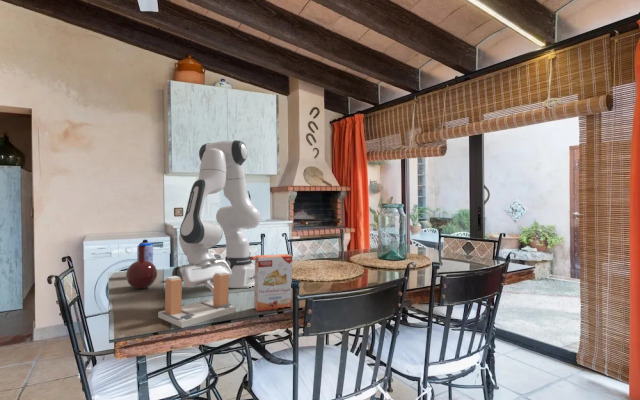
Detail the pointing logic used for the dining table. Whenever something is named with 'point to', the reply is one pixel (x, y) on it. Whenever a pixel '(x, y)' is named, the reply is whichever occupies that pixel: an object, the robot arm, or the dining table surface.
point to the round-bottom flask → (141, 272)
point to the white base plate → (196, 313)
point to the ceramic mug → (177, 272)
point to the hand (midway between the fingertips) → (215, 290)
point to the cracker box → (272, 281)
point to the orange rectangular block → (173, 295)
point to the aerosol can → (146, 251)
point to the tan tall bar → (220, 288)
